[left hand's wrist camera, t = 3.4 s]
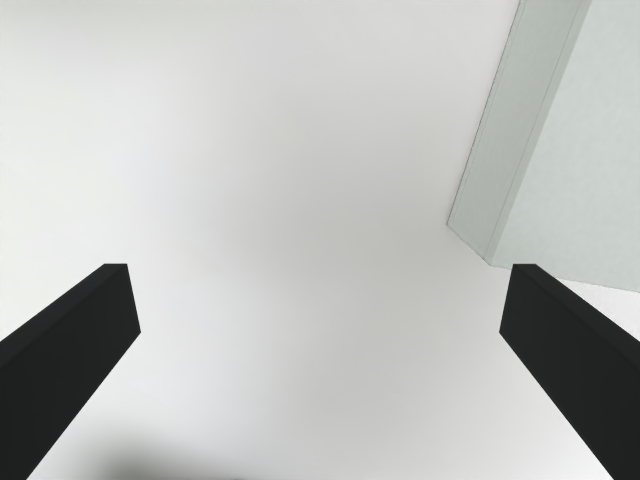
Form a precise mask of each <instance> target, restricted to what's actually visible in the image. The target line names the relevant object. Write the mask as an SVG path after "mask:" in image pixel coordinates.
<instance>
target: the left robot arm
mask: <svg viewBox="0 0 640 480" xmlns="http://www.w3.org/2000/svg"><path fill="white" fill-rule="evenodd" d="M140 333H141V330H140V325H139V320H138V315H137V310H136V306H135V301H134V296H133V291H132V286H131V281H130V276H129V271H128V266H127V264H103V265H102V266H101V267H99V268H98V269H97V270H95V271H94V272H93V273H91V274H90V275H89V276H87V277H86V278H85V279H83V280H82V281H81V282H79V283H78V284H77V285H75V286H74V287H73V288H71V289H70V290H69V291H67V292H66V293H65V294H63V295H62V296H61V297H59V298H58V299H57V300H55V301H54V302H53V303H51V304H50V305H49V306H47V307H46V308H45V309H43V310H42V311H41V312H39V313H38V314H37V315H35V316H34V317H33V318H31V319H30V320H29V321H27V322H26V323H25V324H23V325H22V326H21V327H19V328H18V329H17V330H15V331H14V332H13V333H11V334H10V335H9V336H7V337H6V338H5V339H3V340H2V341H1V342H0V480H26V479H27V478H28V477H29V476H30V474H31V473H32V472H33V470H34V469H35V468H36V467H37V465H38V464H39V463H40V461H41V460H42V459H43V458H44V456H45V455H46V454H47V452H48V451H49V450H50V449H51V447H52V446H53V445H54V443H55V442H56V441H57V440H58V438H59V437H60V436H61V434H62V433H63V432H64V431H65V429H66V428H67V427H68V425H69V424H70V423H71V422H72V420H73V419H74V418H75V416H76V415H77V414H78V413H79V411H80V410H81V409H82V407H83V406H84V405H85V404H86V402H87V401H88V400H89V398H90V397H91V396H92V395H93V393H94V392H95V391H96V389H97V388H98V387H99V386H100V384H101V383H102V382H103V380H104V379H105V378H106V377H107V375H108V374H109V373H110V371H111V370H112V369H113V368H114V366H115V365H116V364H117V362H118V361H119V360H120V359H121V357H122V356H123V355H124V353H125V352H126V351H127V350H128V348H129V347H130V346H131V345H132V343H133V342H134V341H135V339H136V338H137V337H138V336H139V334H140ZM499 333H500V334H501V336H502V337H503V338H504V339H505V341H506V342H507V343H508V345H509V346H510V347H511V348H512V350H513V351H514V352H515V354H516V355H517V356H518V357H519V359H520V360H521V361H522V362H523V364H524V365H525V366H526V368H527V369H528V370H529V371H530V373H531V374H532V375H533V377H534V378H535V379H536V380H537V382H538V383H539V384H540V386H541V387H542V388H543V389H544V391H545V392H546V393H547V395H548V396H549V397H550V398H551V400H552V401H553V402H554V404H555V405H556V406H557V407H558V409H559V410H560V411H561V413H562V414H563V415H564V416H565V418H566V419H567V420H568V422H569V423H570V424H571V425H572V427H573V428H574V429H575V431H576V432H577V433H578V434H579V436H580V437H581V438H582V440H583V441H584V442H585V443H586V445H587V446H588V447H589V449H590V450H591V451H592V452H593V454H594V455H595V456H596V458H597V459H598V460H599V461H600V463H601V464H602V465H603V467H604V468H605V469H606V470H607V472H608V473H609V474H610V476H611V477H612V478H613V479H614V480H640V342H639V341H638V340H637V339H635V338H634V337H633V336H631V335H630V334H629V333H627V332H626V331H625V330H623V329H622V328H621V327H619V326H618V325H617V324H615V323H614V322H613V321H611V320H610V319H609V318H607V317H606V316H605V315H603V314H602V313H601V312H599V311H598V310H597V309H595V308H594V307H593V306H591V305H590V304H589V303H587V302H586V301H585V300H583V299H582V298H581V297H579V296H578V295H577V294H575V293H574V292H573V291H571V290H570V289H569V288H567V287H566V286H565V285H563V284H562V283H561V282H559V281H558V280H557V279H555V278H554V277H553V276H551V275H550V274H549V273H547V272H546V271H545V270H543V269H542V268H541V267H539V266H538V265H537V264H513V266H512V271H511V276H510V281H509V286H508V291H507V296H506V301H505V306H504V310H503V315H502V320H501V325H500V330H499Z"/></svg>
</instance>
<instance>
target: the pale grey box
mask: <svg viewBox="0 0 640 480" xmlns="http://www.w3.org/2000/svg"><path fill="white" fill-rule="evenodd" d="M447 226H448V227H449V228H450V229H451V230H452V231H453V232H454V233H455V234H457V235H458V236H459V237H460V238H461V239H462V240H463V241H464V242H465V243H466V244H467V245H468V246H469V247H470V248H472V249H473V250H474V251H475V252H476V253H477V254H478V255H479V256H480V257H481V258H482V259H483V260H484V261H485V262H486V263H488V264H489V265H490V266H494V267H500V268H506V269H511V270H512V266H513V264H537V265H538V266H539V267H541V268H542V269H543V270H545V271H546V272H547V273H549V274H550V275H551V276H553V277H555V278H561V279H567V280H572V281H578V282H583V283H589V284H594V285H600V286H605V287H611V288H616V289H622V290H627V291H633V292H639V293H640V0H521V1H520V4H519V7H518V10H517V13H516V16H515V19H514V22H513V25H512V28H511V31H510V34H509V37H508V40H507V43H506V46H505V49H504V53H503V56H502V59H501V62H500V65H499V68H498V71H497V74H496V77H495V80H494V83H493V86H492V89H491V92H490V95H489V98H488V101H487V104H486V107H485V110H484V114H483V117H482V120H481V123H480V126H479V129H478V132H477V135H476V138H475V141H474V144H473V147H472V150H471V153H470V156H469V159H468V162H467V165H466V168H465V171H464V175H463V178H462V181H461V184H460V187H459V190H458V193H457V196H456V199H455V202H454V205H453V208H452V211H451V214H450V217H449V220H448V223H447Z"/></svg>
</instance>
